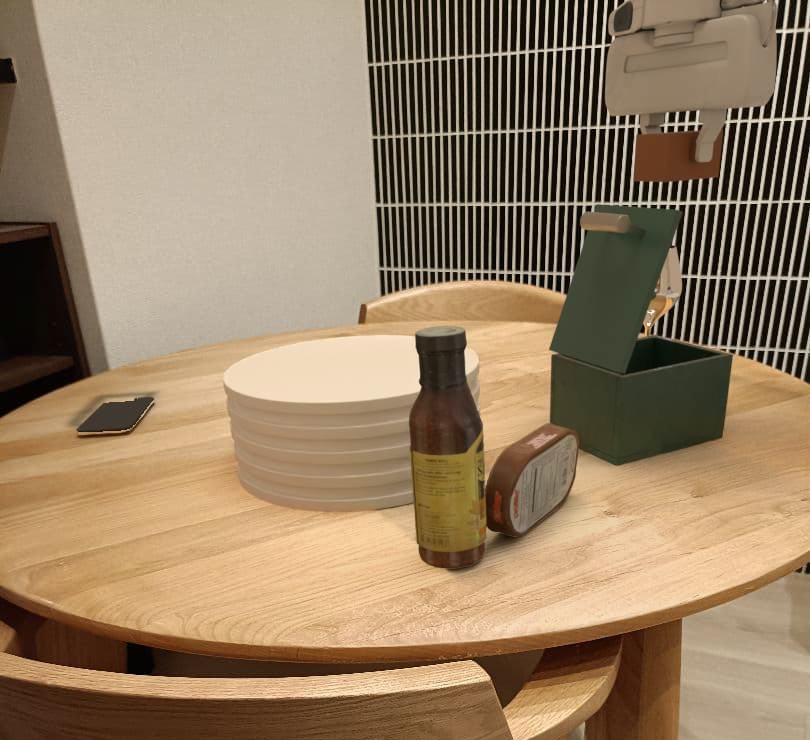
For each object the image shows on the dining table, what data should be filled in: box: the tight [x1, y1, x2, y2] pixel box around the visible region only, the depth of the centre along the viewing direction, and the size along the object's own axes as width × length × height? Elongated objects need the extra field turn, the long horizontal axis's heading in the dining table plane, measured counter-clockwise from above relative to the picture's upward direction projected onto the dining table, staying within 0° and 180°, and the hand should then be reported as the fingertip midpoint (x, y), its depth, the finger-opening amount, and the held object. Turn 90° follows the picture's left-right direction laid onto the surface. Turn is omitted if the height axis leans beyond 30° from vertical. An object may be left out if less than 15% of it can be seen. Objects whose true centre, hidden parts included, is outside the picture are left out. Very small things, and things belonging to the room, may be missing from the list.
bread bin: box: [549, 334, 734, 466], centre depth 96 cm, size 16×13×10 cm
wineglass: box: [643, 244, 683, 337], centre depth 116 cm, size 8×8×18 cm
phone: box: [75, 396, 155, 432], centre depth 115 cm, size 7×1×15 cm
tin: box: [485, 422, 580, 538], centre depth 77 cm, size 15×3×8 cm, turn 145°
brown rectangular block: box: [632, 129, 724, 183], centre depth 85 cm, size 7×5×4 cm
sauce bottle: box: [409, 325, 488, 570], centre depth 69 cm, size 6×6×20 cm
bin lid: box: [548, 203, 684, 374], centre depth 87 cm, size 16×13×5 cm
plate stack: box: [222, 334, 481, 513], centre depth 93 cm, size 28×28×12 cm
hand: (677, 162), depth 85 cm, fingers closed on brown rectangular block, 5 cm apart
